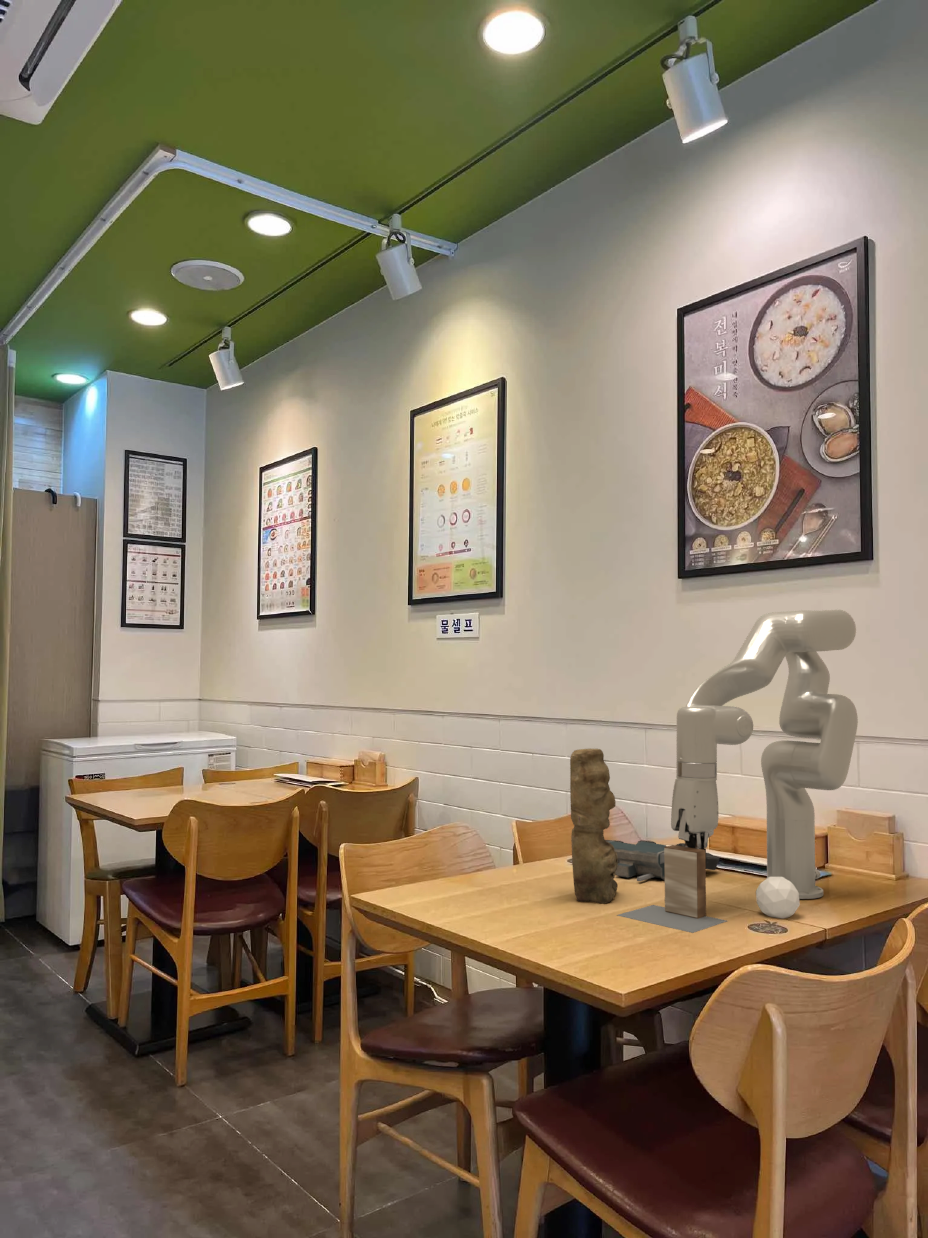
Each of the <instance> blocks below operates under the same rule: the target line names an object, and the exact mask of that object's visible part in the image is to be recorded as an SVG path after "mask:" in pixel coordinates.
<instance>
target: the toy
mask: <svg viewBox="0 0 928 1238" xmlns="http://www.w3.org/2000/svg"><path fill="white" fill-rule="evenodd" d="M605 841H607V842H609V843H611V844H612V845H613V846H614V851H615V852H617V858H618V867H617V870H616V871H615V873H616V874H615V876H617V877H621V878H632V877H635V876H637V877H636V882H642V881H647V880H649V879H653V878H654V879H662V880H664V881H665V860H664V848H665V847H666V846H667V845H666V844H661V843H657V842H655V841H651V840H638V841H637V843H627V842H624V841H622V840H617V839H616V840H614V839H605ZM675 845H676V846H683V847H685V842H683V843H681V842H680V843H676V844H675ZM719 861H720V857H718V856H717V855H716V856H715V855H714V854H712V853H710V852H706V870H711V871H715V870H717V867H718V865H719Z"/></svg>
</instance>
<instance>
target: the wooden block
mask: <svg viewBox="0 0 928 1238" xmlns="http://www.w3.org/2000/svg"><path fill="white" fill-rule="evenodd" d="M676 845H677V844H671V845H666V847H665V848H664V860H665V880H664V907H665V912H670V913H674V914H679V915H684V916H688V917H693V918H697V919H698V918H701V917H704V916H707V892H706V891H707V889H706V888H707V886H706V885H707V883H706V882H707V881H706V880H707V876H706V874H707V872H706V871H707V869H706V865H705V850H702V849H696V848H689V847H683V846H676Z"/></svg>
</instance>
